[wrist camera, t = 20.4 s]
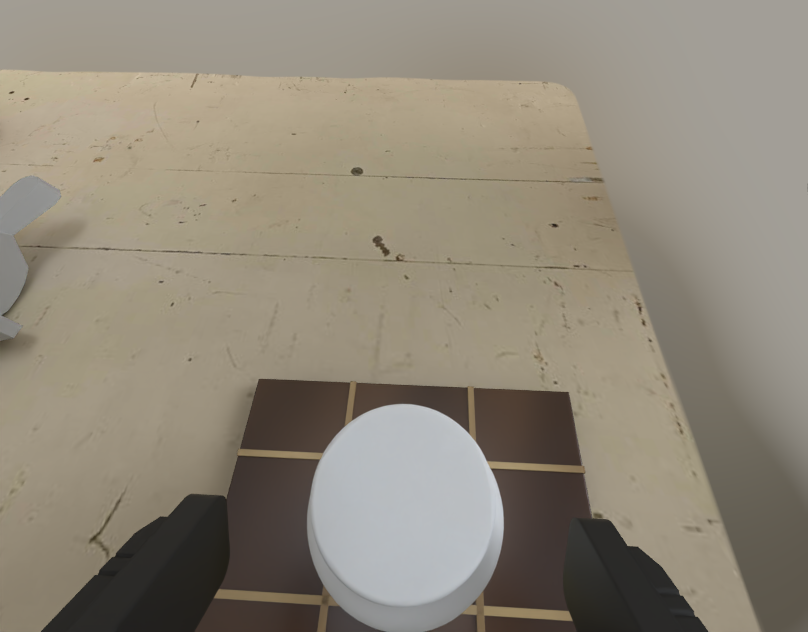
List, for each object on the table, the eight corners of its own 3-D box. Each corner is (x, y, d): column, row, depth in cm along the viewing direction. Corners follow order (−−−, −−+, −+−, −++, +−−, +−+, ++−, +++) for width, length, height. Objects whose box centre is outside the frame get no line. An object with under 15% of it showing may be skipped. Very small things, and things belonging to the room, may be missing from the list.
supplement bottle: (322, 500, 17) (246, 432, 9) (432, 443, 19) (450, 339, 10) (374, 643, 15) (330, 730, 6) (497, 565, 16) (591, 554, 8)
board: (562, 399, 21) (570, 390, 20) (624, 751, 14) (641, 765, 13) (264, 385, 22) (257, 376, 21) (177, 718, 14) (160, 728, 13)
